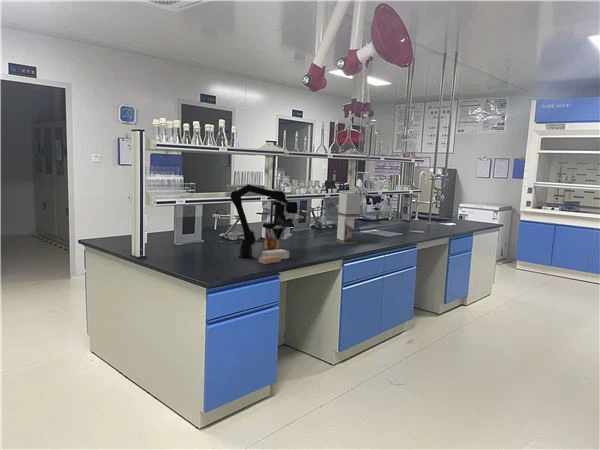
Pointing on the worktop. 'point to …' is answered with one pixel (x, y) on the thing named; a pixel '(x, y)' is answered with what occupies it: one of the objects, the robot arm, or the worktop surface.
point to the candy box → (270, 239)
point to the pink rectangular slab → (269, 259)
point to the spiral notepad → (276, 253)
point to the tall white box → (347, 216)
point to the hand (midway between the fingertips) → (277, 239)
